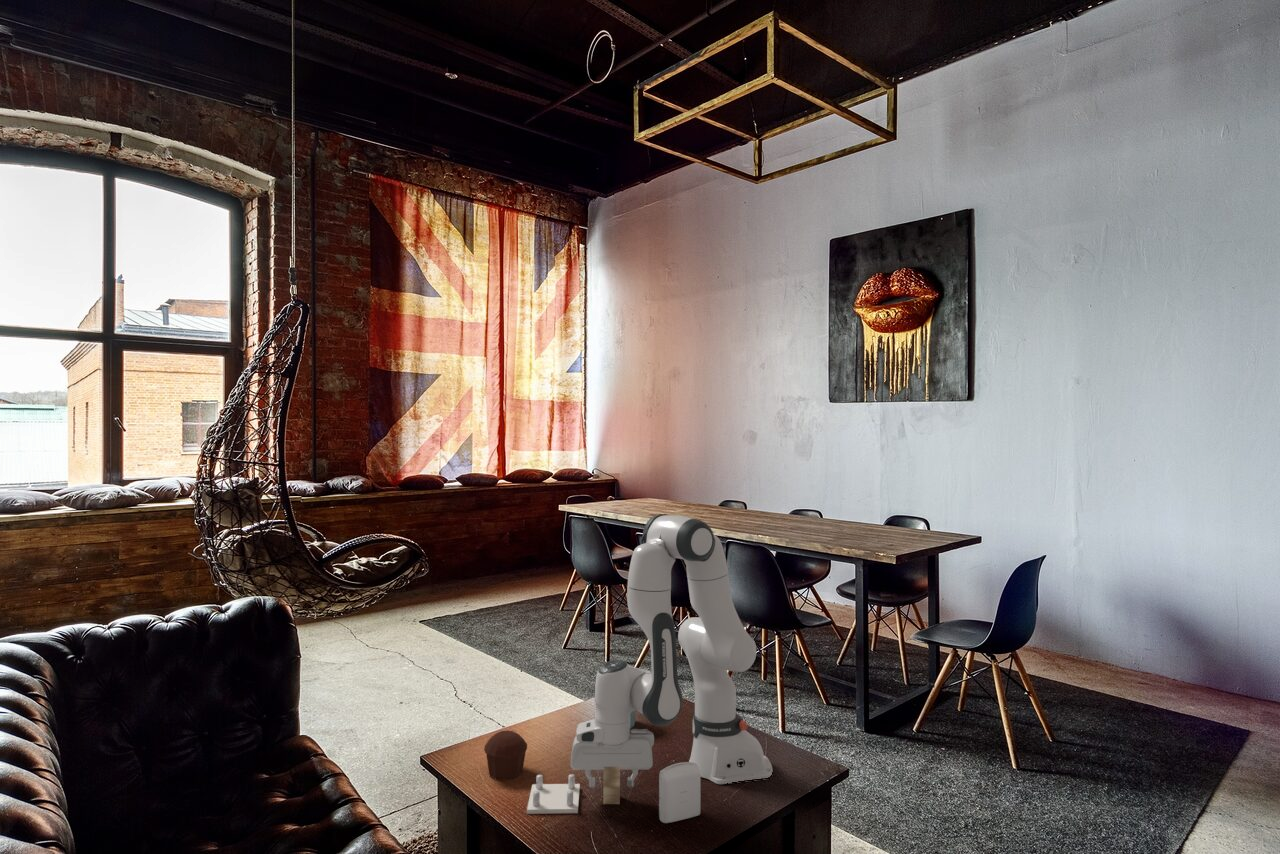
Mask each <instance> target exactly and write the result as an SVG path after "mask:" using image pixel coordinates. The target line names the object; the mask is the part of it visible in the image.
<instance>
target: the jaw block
mask: <svg viewBox="0 0 1280 854" xmlns="http://www.w3.org/2000/svg"><path fill="white" fill-rule="evenodd" d="M602 793H603V795H602V798H603V801H602V804H603V805H620V802H621V770H620V767H604V770H603V791H602Z"/></svg>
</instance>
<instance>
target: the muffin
mask: <svg viewBox="0 0 1280 854" xmlns="http://www.w3.org/2000/svg"><path fill="white" fill-rule="evenodd" d="M527 750H528V743H527V742H526V741H525V739H524V738H523V737H522V736H521V735H520V734H519V733H517V732H516V731H513V730H500V731H498V732H496V733H495V734H493V735H492V736H491V737H490V738H489V739H488V740H487V742H486V744H485V745H484V748H483V751H484V752H485V754H486V761H487V767H488V775H490V776H489V777H491V776H493V777H494V778H493V777H492V778H493V779H495V778H496V779H495V780H503V779H504V780H505V781H508V780H510V779H514V778H517V777H519V776H520V775H521V774H523V770H524V763H525V758H526V752H527ZM504 780H503V781H504Z"/></svg>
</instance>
